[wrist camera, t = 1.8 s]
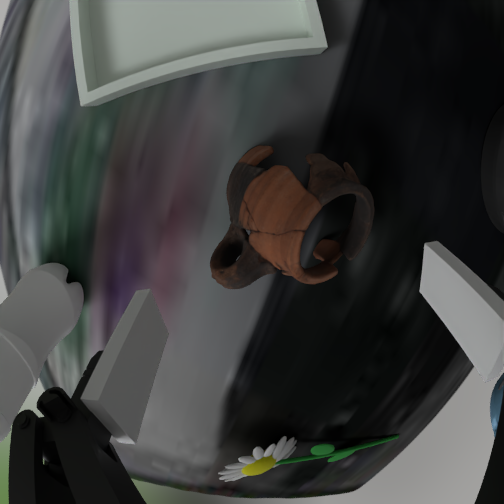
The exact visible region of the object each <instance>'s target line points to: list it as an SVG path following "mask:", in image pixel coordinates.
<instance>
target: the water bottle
mask: <svg viewBox="0 0 504 504" xmlns="http://www.w3.org/2000/svg"><path fill="white" fill-rule="evenodd" d="M67 274H68V269H67V268H66V267H65V266H64V265H62V264H59V263H47V264H44V265H41V266H38V267H36V268H34V269H31V270H30V271H28V272H27V273H26V274H25V275H24V276H23V277H22V278H21V279H20V281H19V282H18V284H17V285H16V287H15V288H14V290H13V291H12V292H11V294H10V295H9V296H8V297H7V298H6V299H5V300H4V301H3V303H2V304H0V442H1V441H2V440H3V439H4V438H5V437H6V436H7V435H8V433H9V432H10V430H11V428H10V427H11V425H12V423H13V421H14V419H15V417H16V415H17V414H18V412H19V410H20V408H21V406H22V405H23V403H24V401H25V399H26V397H27V396H28V394H29V392H30V391H31V389H33V388H34V387H35V386H36V384H37V381H38V378H39V374H40V371H41V369H42V366H43V364H44V362H45V360H46V359H47V357H48V355H49V354H50V352H51V351H52V350H53V348H54V347H55V346H56V345H57V344H58V343H59V342H60V341H61V340H62V339H63V338H64V337H65V336H66V335H68V334H69V333H70V332H71V331H72V329H73V328H74V326H75V325H76V323H77V321H78V318H79V316H80V313H81V310H82V307H83V301H84V293H83V289H82V286H81V284H80V283H78V282H73V283H70V284H68V283H67V282H66V278H67Z"/></svg>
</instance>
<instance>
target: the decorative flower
mask: <svg viewBox="0 0 504 504" xmlns="http://www.w3.org/2000/svg"><path fill="white" fill-rule="evenodd" d="M398 437H399V435H398V434H397V435H393V436H390V437H386V438H383V439H380V440H376V441H373V442H369V443H365V444H361V445H357V446H353V447H349V448H345V449H340V450H335V451H334V449H335V448H334V446H333V445H330V444H320V445H317V446H315V447H313V448H312V449H311V453H312V454H314V455H309V456H302V457H296V458H288V457H289V455H291V454H292V453H293V451H294V450H295V449H296V446H294V445H295V444H296V442H297V440H295V441H294V437H293V438H290V439H289V440H288V441H287V442H286V439H287V437H286V436H284V437H282V438H281V439H280V441H279V442H278V444H277V445H275V444H272V445H270V446H269V447H268V448H267V450H263V449H262V448H261V447H256V448H255V449H254V451H253V455H252V456H242V457H240V458H239V459H238V460H239V461H240V462H239V463H233V464H230V465H227V466H226V468H228V469H226V470H224V471H221V472H219V473H218V474H225V475H224V476H222V477H220V478H219V479H220V480H224V479H226V480H225V482H227V481H231V480H232V481H234V480H237V479H240V478H242V477H245V476H248V475H257V474H261V473H263V472H265V471H267V470H269V469H270V468H272V467H276V466H277V465H279V464H285V463H292V462H299V461H306V460H312V459H317V458H323V457H328V456H332V457H331V458H330V459H329V460H328V462H333V461H336V460H339V459H342V458H344V457H347V456H348V455H350V454H352V453H353V452H354V451H355V450H358V449H362V448H366V447H370V446H373V445H377V444H380V443H384V442H387V441H390V440H393V439H396V438H398ZM333 455H334V456H333ZM287 458H288V459H287Z"/></svg>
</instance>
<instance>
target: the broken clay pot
mask: <svg viewBox="0 0 504 504" xmlns="http://www.w3.org/2000/svg"><path fill="white" fill-rule="evenodd" d="M273 153H274V150H273V148H272V147H270V146H262V145H259V146H256V147H254V148H253V149H251V150H250V151H248V152H247V153H246V154H245V155H244V156H243V157H242V158H241V159H240V160H239V162H238V163H237V164H236V165H235V167H234V168H233V170H232V172H231V174H230V177H229V181H228V184H227V200H228V205H229V213H230V221H231V223H232V224H231V225H230V227H229V230H228V232H227V234H226V236H225V237H224V238H223V240H222V241H221V242H220V243H219V245H218V246H217V247H216V249H215V251H214V252H213V255H212V257H211V261H210V268H211V272H212V278H214V279H215V280H216V281H217V282H218V283H219V284H221V285H222V286H223V287H225V288H228V289H240V288H244V287H246V286H248V285H250V284H251V283H252V282H254V281H255V280H257V279H259V278H260V277H262V276H264V275H267V274H274V273H276V272H277V268H278V269H280V270H282V274H284V275H289V276H293V277H294V278H295V279H297V280H298V281H300V282H302V283H307V284H316V283H321V282H324V281H326V280H328V279H331V278H332V277H334V276H335V275H337V273H338V270H337V268H336V267H334V266H333V265H332V264H333V263H335V262H336V261H337V260H338V259H339V258H340V257H341V256H342V254H343V253H344V254H345V256H346V257H347V258H348V260H352V259H354V258H355V257H356V256H357V255H358V254H359V252H360V251H361V249H362V248H363V246H364V244H365V242H366V241H367V239H368V236H369V234H370V231H371V228H372V223H373V217H374V211H375V209H374V200H373V197H372V195H371V193H370V191H369V190H368V189H367V187H366V186H364V185H362V184H360V181H359V180H358V177H357V175H356V174H355V172H354V170H353V169H352V168H351V166H350V165H349V164H348V163H347V162H345V163H344V164H343V166H344V168H345V173H344V171H343V169H342V168H341V167H340V166H339V165H338V164H337V163H335V162H334V161H331V160H329V159H327V158H326V156H324V155H323V154H320V153H315V154H308V155H306V160H307V162H308V163H309V165H310V166H311V167H310V179H309V182H308V187H307V189H305V188H304V186H303V185H302V183H301V182H300V181H299V180H298V179H297V178H296V176H295V175H294V174H293V173H292V172H291V170H290V169H289V168H288V167H287V166H282V165H275V166H273V167H271V168H270V169H268V170H267V171H266V170H265V169H264V168H260V167H255V166H256V165H258V164H259V163H260V162H261V161H262V160H264V159H265V158H267V157H268V156H270V155H271V154H273ZM349 193H351V194H355V195H356V200H357V201H356V202H355V206H354V212H353V217H352V219H351V222H350V224H349V226H348V227H347V229H346V230H345V231H344V232H343V233H342V234H341V236H340V237H339V238H338V239H337V240H336V241H333V240H328V239H322V240H321V241H320V242H319V244H318V245H317V246H316V248H315V249H314V252H313V254H314V256H315V257H316V258H317V259H321V260H322V262H321V263H320V264H318V265H316V266H314V267H311V268H308V269H304V268H303V267H302V266H301V263H300V248H301V243H302V240H303V237H304V234H305V231H306V229H307V228H308V226H309V224H310V223H311V221H312V220H313V219H314V217H315V216H316V214H317V213H318V212H319V211H320V210H321V209H322V207H323V206H324V205H325V204H327V203H328V202H330V201H331V200H333V199H334V198H336V197H338V196H340V195H344V194H349ZM245 229H247V230H250V231H251V233H250V235H248V234H247V232H246V230H245ZM239 256H240V257H239ZM238 257H239V258H238ZM237 258H238V260H237V261H236V259H237Z"/></svg>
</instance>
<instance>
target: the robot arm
mask: <svg viewBox="0 0 504 504" xmlns="http://www.w3.org/2000/svg"><path fill="white" fill-rule="evenodd" d="M481 186H482V194H483V200H484V204H485V207H486V210H487V213H488V215H489V218H490V219H491V221H492V223H493V224H494V226H495V227H496V228H497V229H498V230H499V231H501V232H502V233H504V104H503V105H502V106H501V107H500V108H499V109H498V110H497V112H496V113H495V115H494V116H493V118H492V120H491V122H490V125H489V127H488V130H487V133H486V136H485V141H484V145H483V151H482V159H481ZM420 293H421V294H422V295H423V296H424V298H425V299H426V300H427V302H428V303H429V304H430V305H431V307H432V308H433V309H434V311H435V312H436V313H437V314H438V316H439V317H440V318H441V320H442V321H443V322H444V324H445V325H446V326H447V328H448V329H449V331H450V332H451V333H452V335H453V336H454V337H455V339H456V340H457V342H458V343H459V344H460V346H461V347H462V349H463V350H464V352H465V353H466V355H467V356H468V357H469V359H470V360H471V362H472V363H473V365H474V366H475V368H476V369H477V371H478V372H479V374H480V376H481V377H482V379H483V380H484V382H485V383H486V382H488V381H490V380H492V379H494V378H496V377H498V375H499V374H500V372H501V370H502V368H503V366H504V294H503V293H502V292H501V291H500V290H499V289H498V288H496V287H494V286H492V285H490V284H488V285H487V284H486V283H484V282H483V281H482V280H481V279H480V278H479V277H478V276H477V275H476V274H475V273H474V272H473V271H471V270H470V269H469V268H468V267H467V266H466V265H465V264H464V263H462V262H461V261H460V260H459V259H458V258H457V257H456V256H454V255H453V254H452V253H451V252H450V251H449V250H447V249H446V248H445V247H444V246H443V245H441V244H440V243H439V242H438V241H435V242H429V243H425V246H424V258H423V268H422V277H421V285H420ZM168 335H169V333H168V330H167V328H166V326H165V323H164V321H163V319H162V316H161V314H160V311H159V309H158V306H157V304H156V302H155V299H154V297H153V294H152V291H151V289H146V290H138V291H136V292H135V294H134V296H133V298H132V299H131V301H130V303H129V305H128V307H127V308H126V310H125V312H124V314H123V316H122V317H121V319H120V321H119V323H118V325H117V327H116V328H115V330H114V332H113V334H112V336H111V338H110V340H109V342H108V344H107V345H106V347H105V349H104V351H98V352H97V353H96V354H95V355H94V356H93V357H92V358H91V360H90V362H89V364H88V366H87V368H86V369H87V370H85V371H84V373H83V377H81V379H80V381H79V383H78V385H77V387H76V389H75V391H74V393H73V396H72V398H71V399H70V397H69V396H68V395H67V394H66V392H65V391H64V390H63V389H62V388H60V387H52V388H50V389H48V390H46V391H45V392H43V393H42V395H41V396H40V397H39V399H38V401H37V409H38V410H39V411H40V412H41V413H42V414H43V415H44V416H45V417H40V418H39V417H38V416H37V415H36V414H35V413H34V412H33V411H31V410H24V411H22V412H20V413H19V414H18V415H17V416H16V417H15V419H14V421H13V425H12V433H11V444H10V456H9V457H10V458H9V504H146V502H145V501H144V499H143V498H142V496H141V494H140V493H139V491H138V490H137V488H136V486H135V485H134V483H133V481H132V480H131V478H130V476H129V475H128V473H127V471H126V469H125V467H124V466H123V464H122V462H121V460H120V458H119V456H118V455H117V453H116V451H115V449H114V447H113V445H112V444H111V443H110V442H109V441H110V438H111V435H112V436H113V437H114V438H115V439H116V440H117V441H118V442H120V443H129V444H136V442H137V439H138V435H139V431H140V428H141V424H142V420H143V417H144V413H145V410H146V406H147V403H148V399H149V396H150V393H151V389H152V386H153V382H154V379H155V376H156V373H157V369H158V366H159V363H160V360H161V357H162V353H163V350H164V347H165V344H166V341H167V338H168ZM490 416H491V423H492V427H493V431H494V436H495V440H494V444H493V448H492V452H491V456H490V460H489V463H488V466H487V470H486V473H485V476H484V479H483V482H482V485H481V488H480V491H479V493H478V496H477V499H476V501H475V504H504V373H503V374H502V375H501V377H500V378H499V380H498V381H497V383H496V384H495V387H494V389H493V392H492V396H491V403H490ZM43 459H44V460H45V461H44V465H43Z"/></svg>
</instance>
